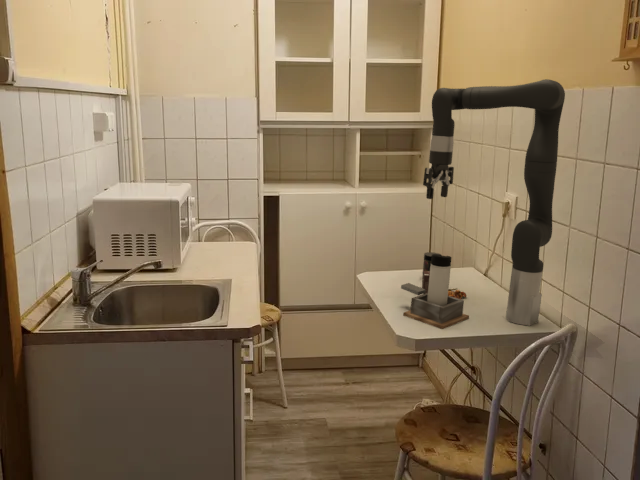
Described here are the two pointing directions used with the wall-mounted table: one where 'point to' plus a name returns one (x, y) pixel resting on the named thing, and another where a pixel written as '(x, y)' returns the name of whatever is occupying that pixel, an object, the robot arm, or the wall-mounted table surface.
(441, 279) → the travel mug
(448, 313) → the grey walled square tray
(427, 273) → the box
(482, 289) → the wall-mounted table surface
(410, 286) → the grey rectangular block
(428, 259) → the supplement container
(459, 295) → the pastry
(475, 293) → the wall-mounted table surface
